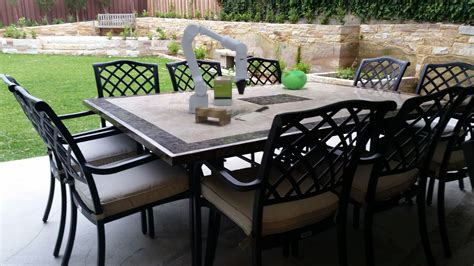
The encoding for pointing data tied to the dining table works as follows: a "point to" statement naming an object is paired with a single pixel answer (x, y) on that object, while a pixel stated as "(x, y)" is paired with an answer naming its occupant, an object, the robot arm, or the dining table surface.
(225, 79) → the tea box
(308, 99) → the dining table surface
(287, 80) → the green cabbage
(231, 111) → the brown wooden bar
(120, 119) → the dining table surface
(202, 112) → the wooden bridge block
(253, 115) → the kitchen cleaver
